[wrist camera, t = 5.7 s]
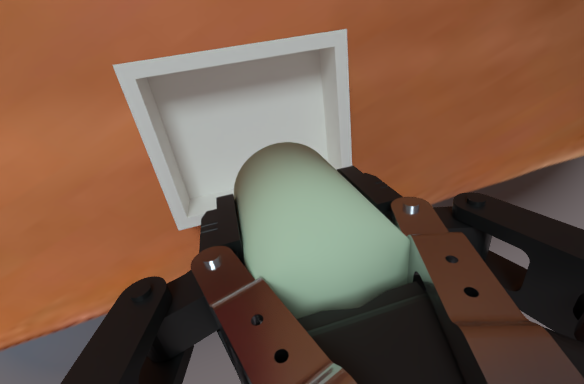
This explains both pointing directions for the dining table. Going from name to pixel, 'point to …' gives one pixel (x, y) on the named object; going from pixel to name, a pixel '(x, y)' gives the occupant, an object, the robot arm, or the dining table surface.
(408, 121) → the dining table surface
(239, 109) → the serving dish
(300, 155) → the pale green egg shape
